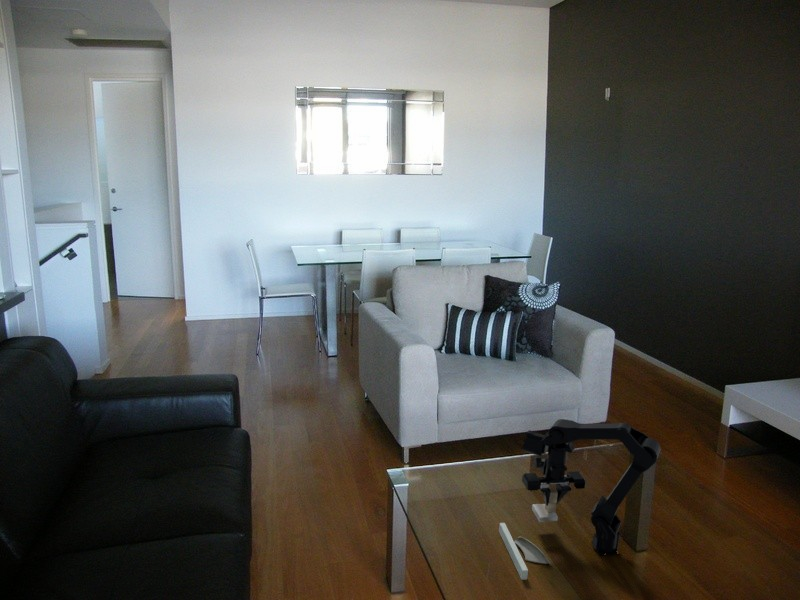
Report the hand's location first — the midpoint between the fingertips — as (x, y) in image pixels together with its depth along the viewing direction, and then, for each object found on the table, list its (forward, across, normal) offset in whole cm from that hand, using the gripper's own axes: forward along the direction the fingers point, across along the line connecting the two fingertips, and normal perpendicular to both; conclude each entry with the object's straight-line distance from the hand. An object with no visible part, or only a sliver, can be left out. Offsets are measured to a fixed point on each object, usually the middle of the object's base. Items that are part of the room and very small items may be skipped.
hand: (550, 504), depth 205 cm
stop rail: (+9, +15, +11) cm, 21 cm away
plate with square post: (+4, +2, 0) cm, 4 cm away
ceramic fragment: (+9, +9, +12) cm, 17 cm away
